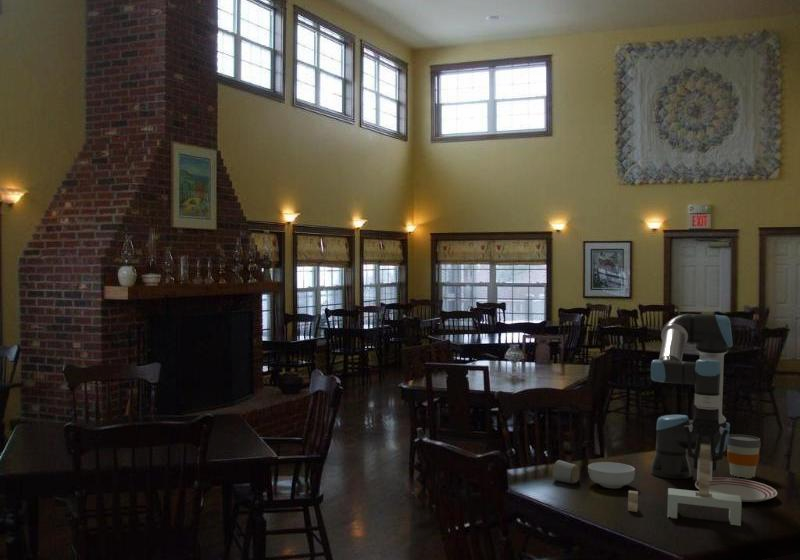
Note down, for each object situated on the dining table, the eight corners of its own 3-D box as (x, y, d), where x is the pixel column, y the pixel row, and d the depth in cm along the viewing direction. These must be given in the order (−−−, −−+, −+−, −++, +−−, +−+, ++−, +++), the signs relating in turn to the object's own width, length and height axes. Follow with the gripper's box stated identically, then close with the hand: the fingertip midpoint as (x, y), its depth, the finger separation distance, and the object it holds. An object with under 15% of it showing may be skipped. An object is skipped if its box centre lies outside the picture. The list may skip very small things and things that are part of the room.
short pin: (628, 508, 272) (628, 490, 272) (637, 509, 271) (638, 491, 271) (627, 510, 269) (628, 492, 269) (637, 511, 268) (637, 493, 268)
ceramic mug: (571, 486, 298) (572, 465, 298) (551, 482, 303) (552, 461, 303) (584, 481, 307) (585, 460, 307) (564, 477, 312) (565, 457, 312)
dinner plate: (773, 511, 273) (773, 502, 273) (688, 498, 286) (688, 489, 286) (780, 493, 297) (780, 484, 297) (701, 482, 310) (701, 473, 310)
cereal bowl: (613, 478, 312) (614, 459, 312) (644, 489, 297) (644, 470, 297) (578, 482, 304) (578, 463, 304) (607, 493, 289) (608, 474, 289)
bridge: (667, 510, 270) (668, 488, 270) (738, 518, 264) (739, 495, 263) (667, 517, 263) (668, 494, 263) (740, 525, 256) (741, 502, 256)
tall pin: (698, 498, 265) (700, 443, 265) (708, 499, 264) (710, 443, 264) (698, 500, 262) (700, 444, 262) (708, 501, 261) (710, 445, 261)
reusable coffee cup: (766, 479, 316) (767, 440, 316) (736, 479, 314) (737, 441, 314) (747, 471, 329) (749, 434, 328) (719, 471, 327) (720, 434, 326)
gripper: (680, 407, 262) (678, 479, 262) (734, 411, 257) (731, 485, 257) (680, 403, 269) (678, 474, 269) (732, 407, 264) (730, 479, 264)
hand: (704, 479), depth 263 cm, fingers closed on tall pin, 3 cm apart
